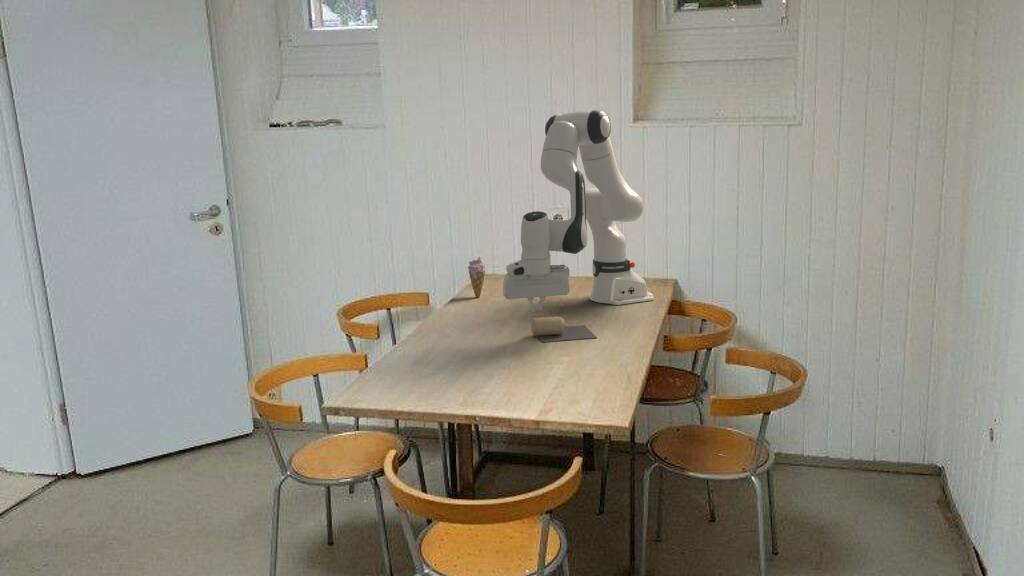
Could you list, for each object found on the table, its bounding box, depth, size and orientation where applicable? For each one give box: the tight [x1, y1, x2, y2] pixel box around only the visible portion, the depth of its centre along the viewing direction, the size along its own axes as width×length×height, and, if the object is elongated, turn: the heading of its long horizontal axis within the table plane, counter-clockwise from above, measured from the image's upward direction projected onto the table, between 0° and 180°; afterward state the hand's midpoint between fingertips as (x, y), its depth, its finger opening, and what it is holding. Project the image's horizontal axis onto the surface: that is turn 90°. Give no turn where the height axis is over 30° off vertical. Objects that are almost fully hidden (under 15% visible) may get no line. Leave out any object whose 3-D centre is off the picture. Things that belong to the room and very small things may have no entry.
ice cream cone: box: [467, 256, 486, 299], centre depth 326 cm, size 7×6×15 cm
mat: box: [536, 324, 598, 344], centre depth 280 cm, size 17×14×1 cm
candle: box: [531, 316, 567, 337], centre depth 278 cm, size 6×6×10 cm
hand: (536, 310), depth 277 cm, fingers closed
